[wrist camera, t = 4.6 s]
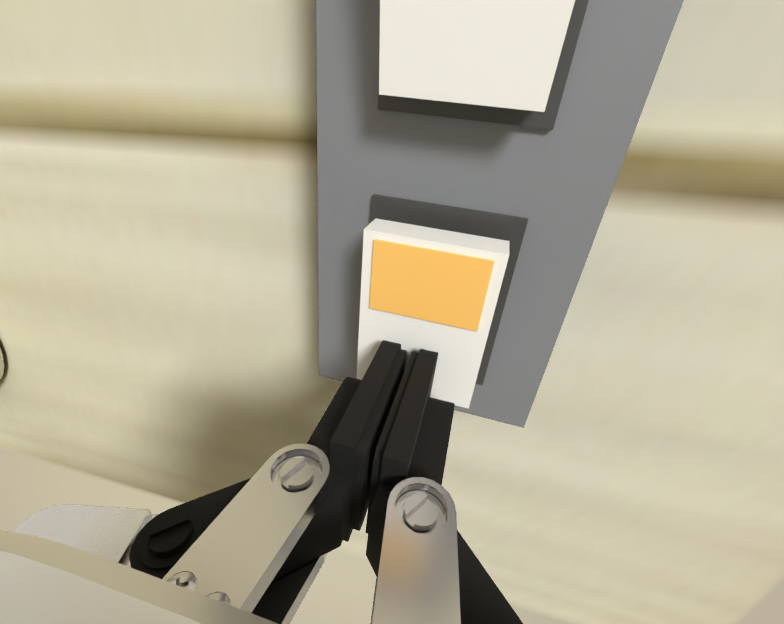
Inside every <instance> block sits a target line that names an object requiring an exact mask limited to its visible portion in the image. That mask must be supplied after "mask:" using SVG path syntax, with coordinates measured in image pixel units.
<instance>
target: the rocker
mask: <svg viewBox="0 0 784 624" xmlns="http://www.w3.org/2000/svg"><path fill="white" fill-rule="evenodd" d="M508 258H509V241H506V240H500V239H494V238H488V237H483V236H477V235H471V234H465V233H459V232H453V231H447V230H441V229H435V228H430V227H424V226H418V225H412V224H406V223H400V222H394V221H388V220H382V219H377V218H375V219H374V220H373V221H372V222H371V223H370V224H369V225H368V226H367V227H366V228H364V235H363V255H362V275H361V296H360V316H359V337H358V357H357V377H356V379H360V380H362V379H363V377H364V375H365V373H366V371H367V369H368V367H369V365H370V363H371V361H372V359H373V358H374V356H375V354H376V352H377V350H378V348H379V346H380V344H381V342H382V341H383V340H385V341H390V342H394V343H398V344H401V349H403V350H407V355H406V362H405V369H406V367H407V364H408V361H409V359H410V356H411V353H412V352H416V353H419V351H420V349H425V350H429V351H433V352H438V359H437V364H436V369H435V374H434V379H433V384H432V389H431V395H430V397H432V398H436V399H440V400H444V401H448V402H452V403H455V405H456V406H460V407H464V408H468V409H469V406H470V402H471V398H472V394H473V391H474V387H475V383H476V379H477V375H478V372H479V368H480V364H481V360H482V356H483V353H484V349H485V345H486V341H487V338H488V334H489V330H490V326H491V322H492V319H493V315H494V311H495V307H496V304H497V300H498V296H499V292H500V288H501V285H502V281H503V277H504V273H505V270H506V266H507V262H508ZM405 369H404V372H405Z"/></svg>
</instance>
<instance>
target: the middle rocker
mask: <svg viewBox="0 0 784 624" xmlns="http://www.w3.org/2000/svg"><path fill="white" fill-rule="evenodd" d="M574 3H575V0H380V53H379V95H389V96H398V97H407V98H417V99H426V100H435V101H445V102H454V103H463V104H473V105H482V106H492V107H501V108H510V109H520V110H529V111H538V112H545V108H546V104H547V101H548V97H549V94H550V90H551V86H552V83H553V79H554V75H555V72H556V68H557V65H558V61H559V57H560V54H561V50H562V46H563V43H564V39H565V36H566V32H567V28H568V25H569V21H570V17H571V14H572V10H573V7H574Z"/></svg>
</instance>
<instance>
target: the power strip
mask: <svg viewBox="0 0 784 624" xmlns="http://www.w3.org/2000/svg"><path fill="white" fill-rule="evenodd" d="M682 3H683V0H575V3H574V7H573V10H572V14H571V17H570V21H569V25H568V28H567V32H566V36H565V39H564V43H563V46H562V50H561V54H560V57H559V61H558V65H557V68H556V72H555V75H554V79H553V83H552V86H551V90H550V94H549V97H548V101H547V104H546V108H545V112H538V111H529V110H520V109H510V108H501V107H492V106H482V105H473V104H463V103H454V102H445V101H435V100H426V99H417V98H407V97H398V96H389V95H379V53H380V0H316V48H317V179H318V309H319V375H320V376H324V377H328V378H332V379H336V380H340V381H344V380H345V378H346V377H352V378H356V377H357V357H358V337H359V316H360V296H361V275H362V255H363V235H364V228H366V227H367V226H368V225H369V224H370V223H371V222H372V221H373V220H374V219H375V218H377V219H382V220H388V221H394V222H400V223H406V224H412V225H418V226H424V227H430V228H435V229H441V230H447V231H453V232H459V233H465V234H471V235H477V236H483V237H488V238H494V239H500V240H506V241H509V258H508V262H507V266H506V270H505V273H504V277H503V281H502V285H501V288H500V292H499V296H498V300H497V304H496V307H495V311H494V315H493V319H492V322H491V326H490V330H489V334H488V338H487V341H486V345H485V349H484V353H483V356H482V360H481V364H480V368H479V372H478V375H477V379H476V383H475V387H474V391H473V394H472V398H471V402H470V406H469V409H468V408H464V407H460V406H456V405H455V406H454V410H457V411H461V412H464V413H468V414H472V415H476V416H480V417H484V418H488V419H492V420H496V421H499V422H503V423H507V424H511V425H515V426H519V427H523V428H524V425H525V423H526V420H527V417H528V415H529V412H530V409H531V406H532V404H533V401H534V398H535V396H536V393H537V390H538V388H539V385H540V382H541V380H542V377H543V374H544V372H545V369H546V366H547V364H548V361H549V358H550V356H551V353H552V350H553V348H554V345H555V342H556V340H557V337H558V334H559V332H560V329H561V326H562V324H563V321H564V318H565V316H566V313H567V310H568V308H569V305H570V302H571V300H572V297H573V294H574V292H575V289H576V286H577V284H578V281H579V278H580V276H581V273H582V270H583V268H584V265H585V262H586V260H587V257H588V254H589V251H590V249H591V246H592V243H593V241H594V238H595V235H596V233H597V230H598V227H599V225H600V222H601V219H602V217H603V214H604V211H605V209H606V206H607V203H608V201H609V198H610V195H611V193H612V190H613V187H614V185H615V182H616V179H617V177H618V174H619V171H620V169H621V166H622V163H623V161H624V158H625V155H626V153H627V150H628V147H629V145H630V142H631V139H632V137H633V134H634V131H635V129H636V126H637V123H638V121H639V118H640V115H641V113H642V110H643V107H644V105H645V102H646V99H647V96H648V94H649V91H650V88H651V86H652V83H653V80H654V78H655V75H656V72H657V70H658V67H659V64H660V62H661V59H662V56H663V54H664V51H665V48H666V46H667V43H668V40H669V38H670V35H671V32H672V30H673V27H674V24H675V22H676V19H677V16H678V14H679V11H680V8H681V6H682Z"/></svg>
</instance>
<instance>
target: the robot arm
mask: <svg viewBox="0 0 784 624" xmlns="http://www.w3.org/2000/svg"><path fill="white" fill-rule="evenodd" d="M406 355H407V350H403V349H401V344H398V343H394V342H390V341H385V340H383V341H382V342H381V344H380V346H379V348H378V350H377V352H376V354H375V356H374V358H373V359H372V361H371V363H370V365H369V367H368V369H367V371H366V373H365V375H364V377H363V379H362V380H360V379H356V378H352V377H346V378H345V380H344V381H343V383H342V384H341V386H340V388H339V389H338V391H337V393H336V395H335V396H334V398H333V400H332V401H331V403H330V405H329V407H328V408H327V410H326V412H325V413H324V415H323V417H322V419H321V420H320V422H319V424H318V425H317V427H316V429H315V431H314V432H313V434H312V436H311V437H310V439H309V441H308V442H307V444H301V443H296V444H292V445H288V446H285V447H283V448H281V449H279V450H278V451H276V452H275V453H274V454H273V455H272V456H271V457H270V458H269V459H268V460H267V461H266V462H265V463H264V464H263V466H262V467H261V468H260V469H259V470H258V471H257V472H256V473H255V475H254V476H253V477H252V478H250V479H247V480H245V481H242V482H240V483H237V484H234V485H232V486H229V487H226V488H224V489H221V490H218V491H216V492H213V493H210V494H208V495H205V496H202V497H200V498H197V499H195V500H192V501H189V502H187V503H184V504H181V505H179V506H176V507H174V508H171V509H169V510H166V511H164V512H163V513H160V514H159V515H155V514H151V512H150V510H147V509H131V508H117V507H103V506H88V505H73V504H63V505H54V506H51V507H49V508H46V509H43V510H40V511H39V512H37V513H35V514H34V515H32V516H30V517H29V518H27V519H26V520H25V521H23V522H22V523H21V524H20V525H19V526H18V527H17V528H16V529H15V530H14V531H13V532H11V531H0V624H290V622H291V620H292V618H293V617H294V615H295V613H296V611H297V609H298V608H299V606H300V604H301V602H302V600H303V599H304V597H305V595H306V593H307V592H308V589H309V588H310V586H311V584H312V583H313V581H314V579H315V577H316V575H317V574H318V572H319V570H320V568H321V566H322V564H323V563H324V560H325V558H326V555H327V553H328V552H330V551H332V550H334V549H336V548H337V547H339V546H341V543H342V540H345V541H349V538H350V535H351V532H352V529H356V530H359V531H360V529H361V526H362V524H363V521H364V518H365V515H366V512H367V509H368V515H367V525H366V533H368V541H367V550H366V556H367V558H368V560H369V562H370V564H371V566H372V568H373V570H374V572H375V574H376V576H377V579H376V586H375V593H374V601H373V609H372V616H371V624H523V623H522V622H521V620H520V619H519V617H518V616H517V614H516V613H515V612H514V610H513V609H512V607H511V606H510V604H509V603H508V602H507V600H506V599H505V597H504V596H503V594H502V593H501V592H500V590H499V589H498V587H497V586H496V585H495V583H494V582H493V580H492V579H491V577H490V576H489V575H488V573H487V572H486V570H485V569H484V567H483V566H482V565H481V563H480V562H479V560H478V559H477V558H476V556H475V555H474V553H473V552H472V550H471V549H470V548H469V546H468V545H467V543H466V542H465V540H464V539H463V538H462V536H461V535H460V533H459V532H458V530H457V522H456V510H455V505H454V502H453V500H452V498H451V496H450V494H449V493H448V492H447V491H446V490H445V489H444V488H443V486H441V485H442V479H443V473H444V467H445V461H446V454H447V448H448V442H449V436H450V430H451V424H452V418H453V412H454V406H455V403H452V402H448V401H444V400H440V399H436V398H432V397H430V395H431V389H432V384H433V379H434V374H435V369H436V364H437V359H438V352H433V351H429V350H425V349H420V351H419V353H416V352H412V353H411V356H410V359H409V361H408V364H407V367H406V369H405V362H406ZM404 369H405V372H404ZM3 373H4V358H3V353H2V351H1V348H0V379H1V378H2V376H3Z"/></svg>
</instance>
